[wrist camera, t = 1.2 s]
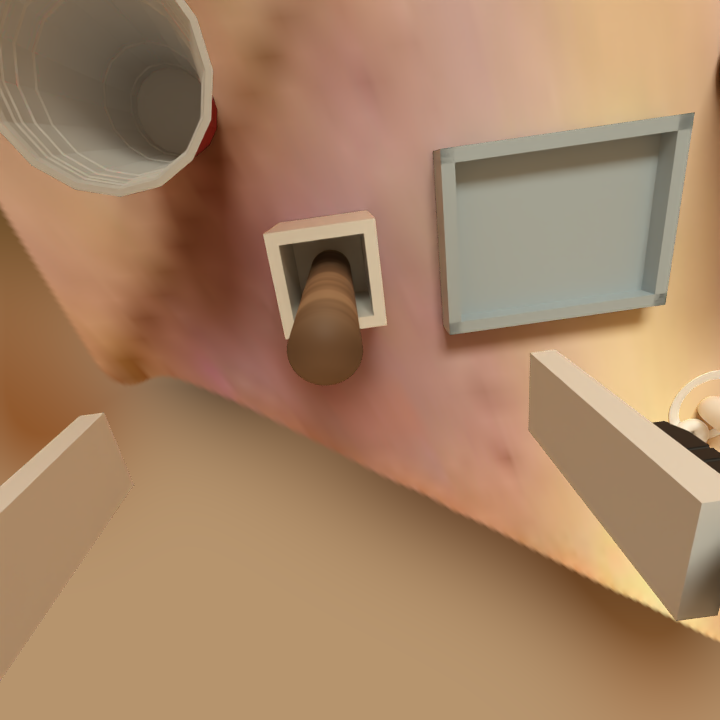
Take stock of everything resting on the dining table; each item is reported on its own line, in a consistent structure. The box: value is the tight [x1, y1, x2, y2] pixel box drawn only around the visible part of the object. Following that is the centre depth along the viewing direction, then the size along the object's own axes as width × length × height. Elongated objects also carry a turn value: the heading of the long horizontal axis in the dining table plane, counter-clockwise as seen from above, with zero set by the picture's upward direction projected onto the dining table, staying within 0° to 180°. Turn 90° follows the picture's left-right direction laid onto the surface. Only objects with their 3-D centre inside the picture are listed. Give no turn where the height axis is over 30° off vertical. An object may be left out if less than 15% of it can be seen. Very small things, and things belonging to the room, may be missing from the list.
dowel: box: [287, 250, 363, 385], centre depth 26 cm, size 3×3×18 cm
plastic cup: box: [0, 0, 217, 197], centre depth 25 cm, size 11×11×12 cm
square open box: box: [263, 210, 387, 339], centre depth 31 cm, size 7×7×8 cm
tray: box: [433, 112, 695, 335], centre depth 34 cm, size 14×18×2 cm
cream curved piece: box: [669, 370, 720, 443], centre depth 41 cm, size 9×8×4 cm
